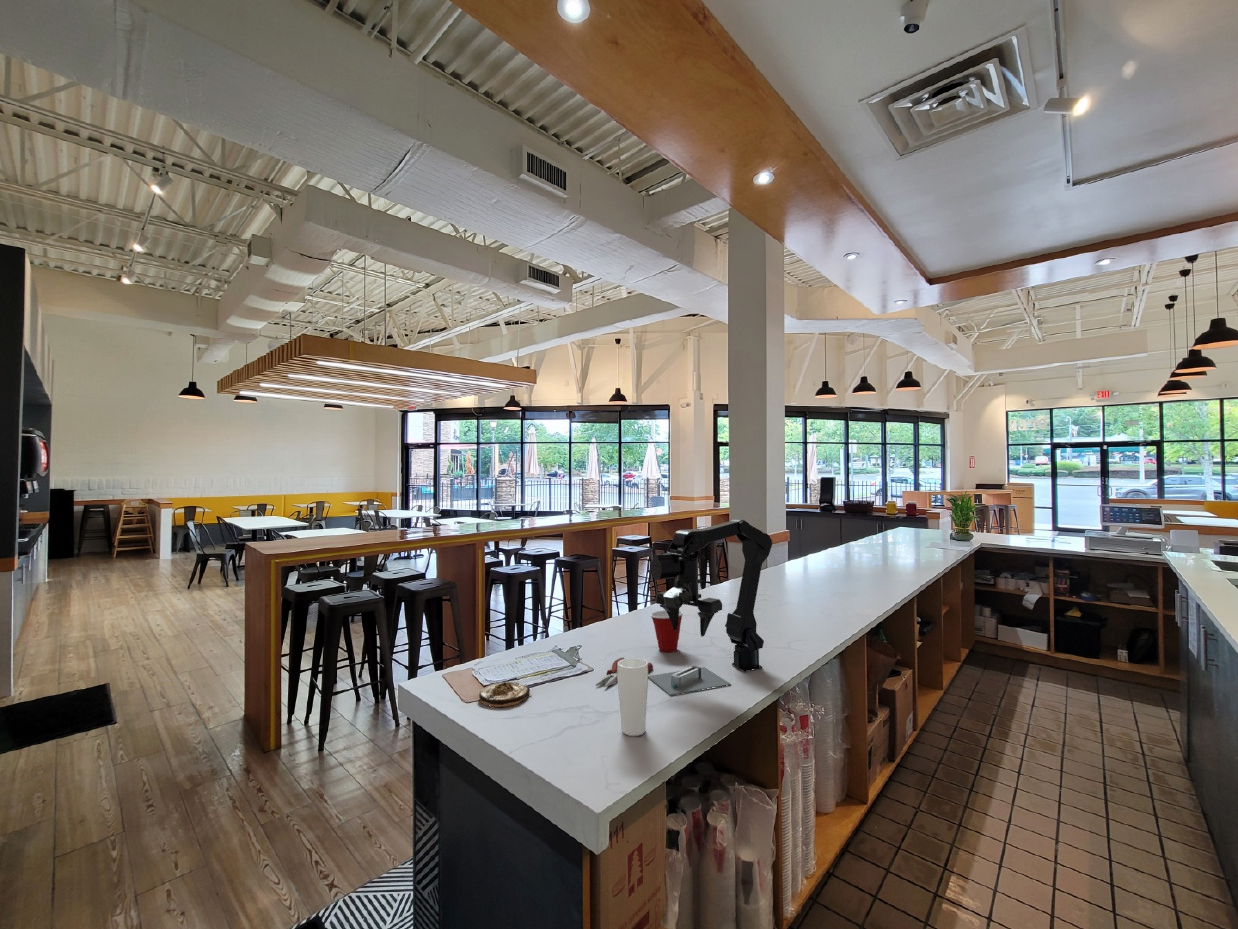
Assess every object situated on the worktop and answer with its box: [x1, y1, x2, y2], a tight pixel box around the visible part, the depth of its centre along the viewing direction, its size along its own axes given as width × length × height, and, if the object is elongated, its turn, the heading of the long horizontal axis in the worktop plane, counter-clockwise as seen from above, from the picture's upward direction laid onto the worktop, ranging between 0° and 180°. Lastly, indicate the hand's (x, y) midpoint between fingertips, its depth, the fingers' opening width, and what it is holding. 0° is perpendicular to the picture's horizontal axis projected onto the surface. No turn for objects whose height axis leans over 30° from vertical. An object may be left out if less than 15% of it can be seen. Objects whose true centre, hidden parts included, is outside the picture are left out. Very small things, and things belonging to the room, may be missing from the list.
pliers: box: [595, 657, 654, 688], centre depth 151 cm, size 12×20×3 cm, turn 149°
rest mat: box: [648, 666, 732, 697], centre depth 147 cm, size 18×14×1 cm
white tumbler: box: [616, 657, 649, 737], centre depth 118 cm, size 7×7×15 cm
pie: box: [478, 680, 532, 709], centre depth 138 cm, size 15×15×4 cm
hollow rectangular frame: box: [671, 665, 701, 688], centre depth 145 cm, size 3×3×11 cm
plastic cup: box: [649, 609, 684, 653], centre depth 175 cm, size 11×11×12 cm
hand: (688, 633), depth 148 cm, fingers open, 9 cm apart
